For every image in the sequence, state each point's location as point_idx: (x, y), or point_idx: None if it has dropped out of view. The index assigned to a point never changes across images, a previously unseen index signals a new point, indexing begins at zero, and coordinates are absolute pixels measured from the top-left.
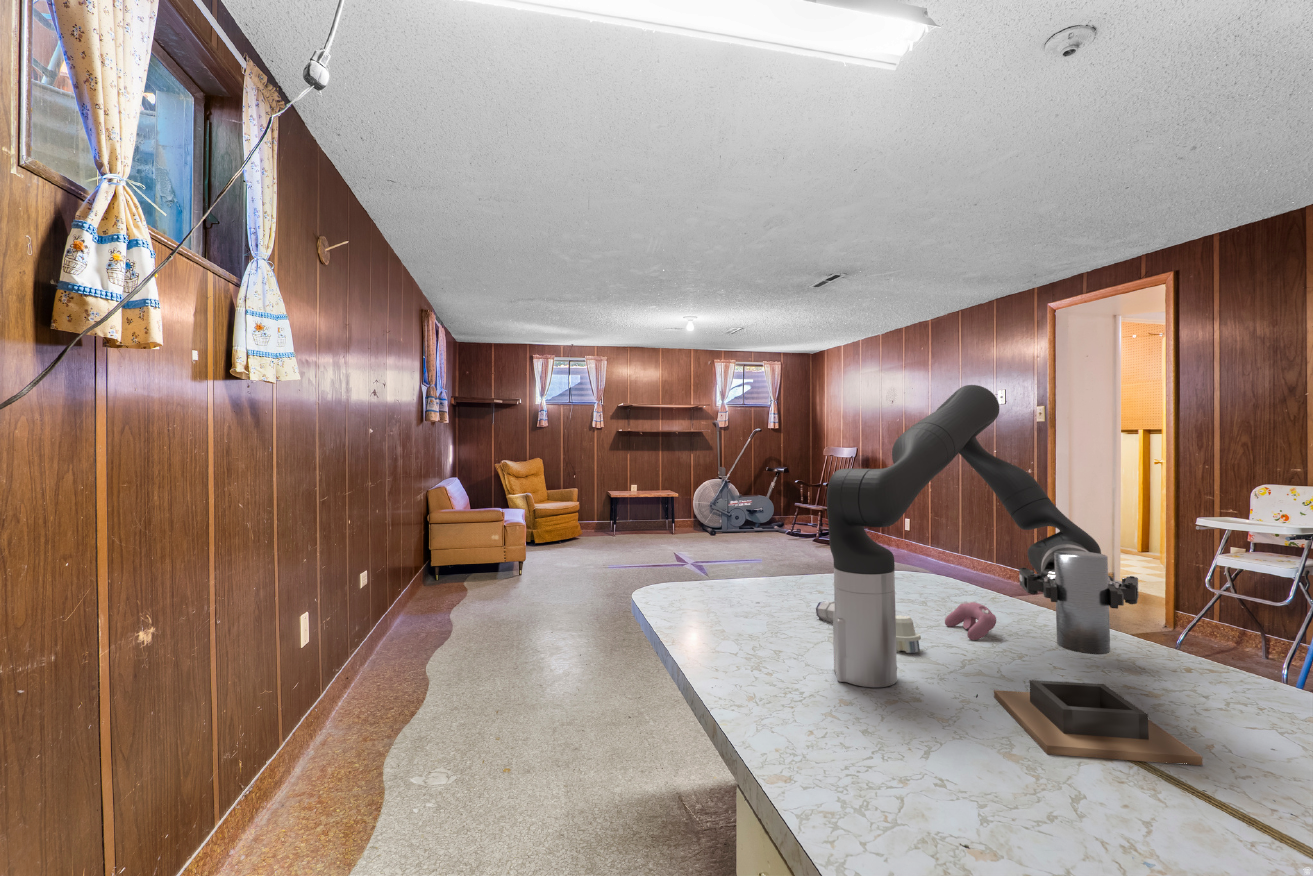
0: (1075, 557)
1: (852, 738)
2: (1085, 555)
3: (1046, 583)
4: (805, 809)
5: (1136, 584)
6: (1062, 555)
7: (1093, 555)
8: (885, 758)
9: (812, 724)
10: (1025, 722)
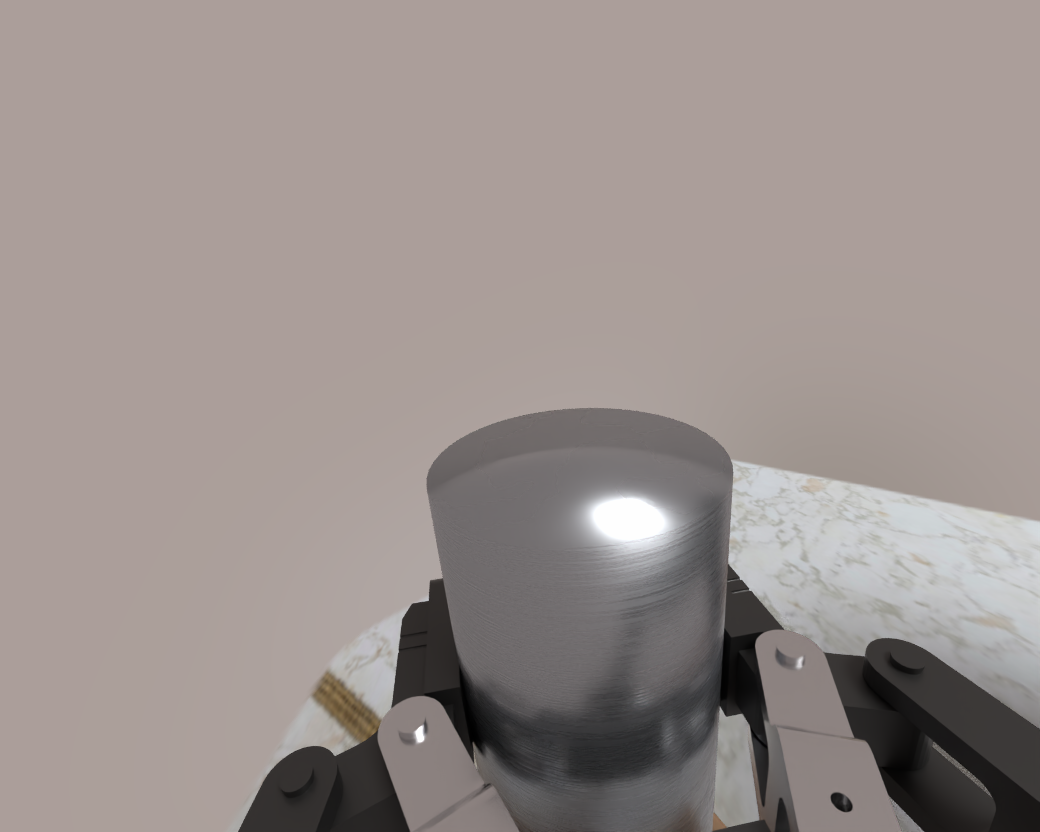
0: (577, 409)
1: (873, 581)
2: (543, 453)
3: (759, 623)
4: (750, 474)
5: (253, 801)
6: (642, 413)
7: (502, 468)
8: (791, 567)
9: (955, 579)
10: (722, 825)
